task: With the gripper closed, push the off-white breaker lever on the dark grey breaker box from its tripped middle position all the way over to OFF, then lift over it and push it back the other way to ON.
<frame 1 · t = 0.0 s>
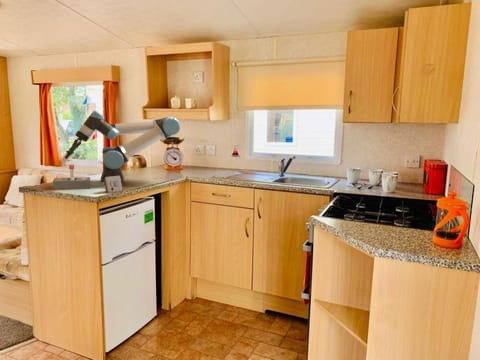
hand: (62, 161, 221), 15 cm above the worktop, tool tilted 35°, fingers open, 13 cm apart
breaker box: (72, 187, 221), on the worktop
electrical switch: (112, 192, 211), on the worktop
breaker lever: (71, 173, 220), point 9 cm above the worktop, hinge at 0.0°
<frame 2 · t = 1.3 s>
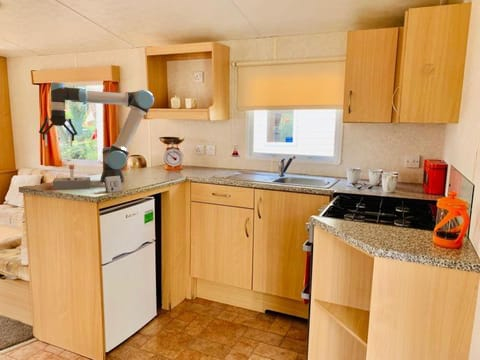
hand: (58, 146, 216), 25 cm above the worktop, tool pointing down, fingers open, 13 cm apart
nothing on the worktop moved.
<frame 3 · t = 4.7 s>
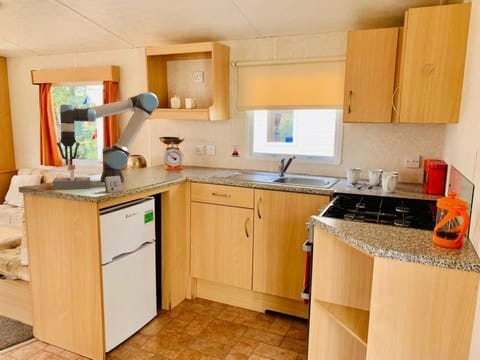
hand: (69, 170, 220), 10 cm above the worktop, tool pointing down, fingers closed
breaker lever: (72, 173, 220), point 9 cm above the worktop, hinge at -4.0°, touching gripper
everything else where it was.
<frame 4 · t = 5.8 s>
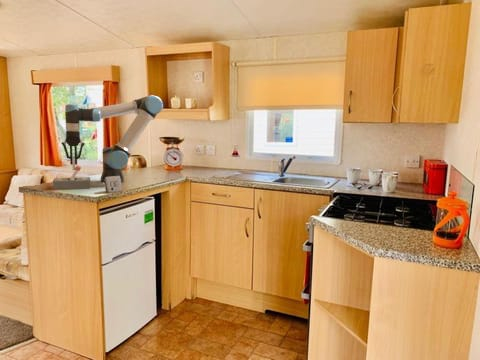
hand: (74, 169, 221), 10 cm above the worktop, tool pointing down, fingers closed
breaker lever: (74, 173, 220), point 8 cm above the worktop, hinge at -27.4°, touching gripper
everything else where it was.
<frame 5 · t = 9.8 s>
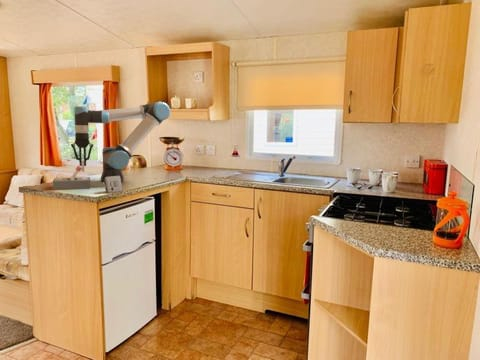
hand: (83, 171, 223), 10 cm above the worktop, tool pointing down, fingers closed
breaker lever: (75, 174, 220), point 8 cm above the worktop, hinge at -31.8°, touching gripper
everything else where it was.
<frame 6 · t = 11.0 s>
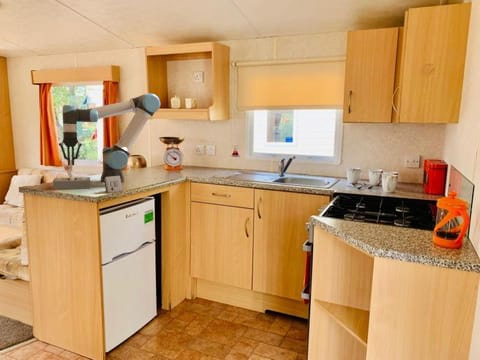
hand: (71, 170, 220), 10 cm above the worktop, tool pointing down, fingers closed
breaker lever: (69, 173, 219), point 8 cm above the worktop, hinge at 18.9°, touching gripper
everything else where it was.
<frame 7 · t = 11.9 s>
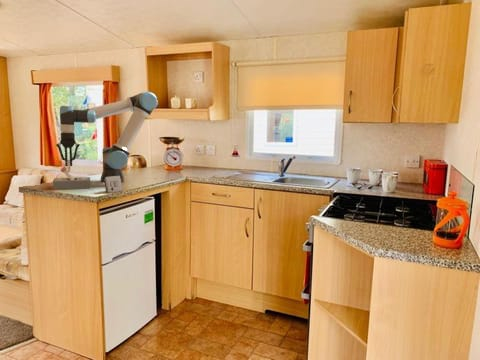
hand: (69, 171, 220), 10 cm above the worktop, tool pointing down, fingers closed
breaker lever: (68, 174, 219), point 8 cm above the worktop, hinge at 36.2°, touching gripper
everything else where it was.
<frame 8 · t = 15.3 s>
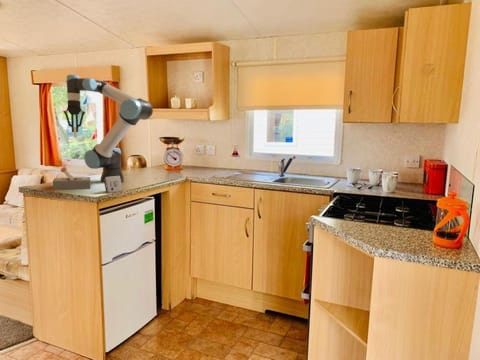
hand: (75, 137, 236), 29 cm above the worktop, tool pointing down, fingers closed
breaker lever: (68, 174, 219), point 8 cm above the worktop, hinge at 36.3°
everything else where it was.
at the end: breaker lever at +36° (first picture: +0°); electrical switch moved 0.3 cm from its start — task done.
